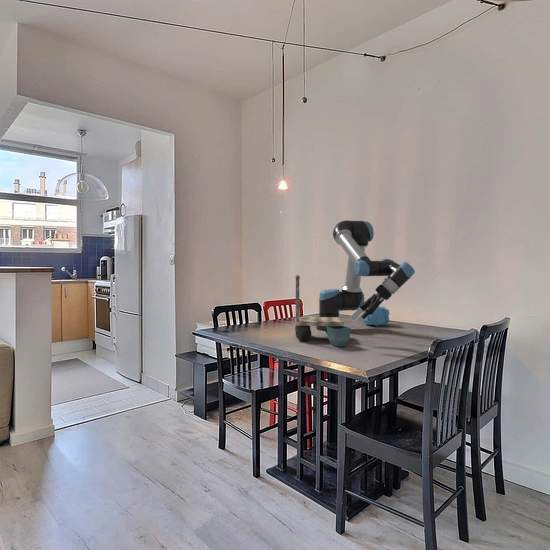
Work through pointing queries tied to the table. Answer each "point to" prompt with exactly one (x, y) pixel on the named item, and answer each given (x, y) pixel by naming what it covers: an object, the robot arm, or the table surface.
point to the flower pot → (338, 335)
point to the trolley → (311, 320)
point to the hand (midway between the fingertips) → (354, 320)
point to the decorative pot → (378, 317)
